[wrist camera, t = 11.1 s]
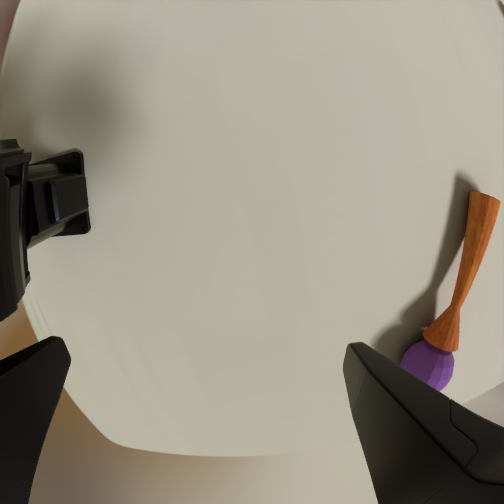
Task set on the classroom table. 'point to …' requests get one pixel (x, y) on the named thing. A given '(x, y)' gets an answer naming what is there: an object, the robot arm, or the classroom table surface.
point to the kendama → (453, 300)
